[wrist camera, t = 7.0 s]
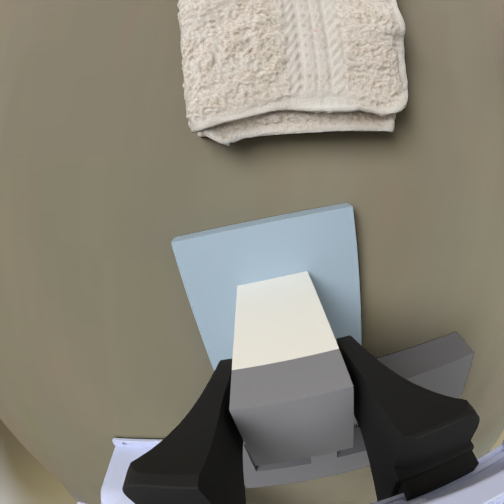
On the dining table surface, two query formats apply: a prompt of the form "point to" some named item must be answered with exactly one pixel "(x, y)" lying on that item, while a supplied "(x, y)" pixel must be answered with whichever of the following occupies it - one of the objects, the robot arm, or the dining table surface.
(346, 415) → the plug
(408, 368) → the gray socket board
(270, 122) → the washcloth
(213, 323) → the pad
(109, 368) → the dining table surface
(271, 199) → the dining table surface
